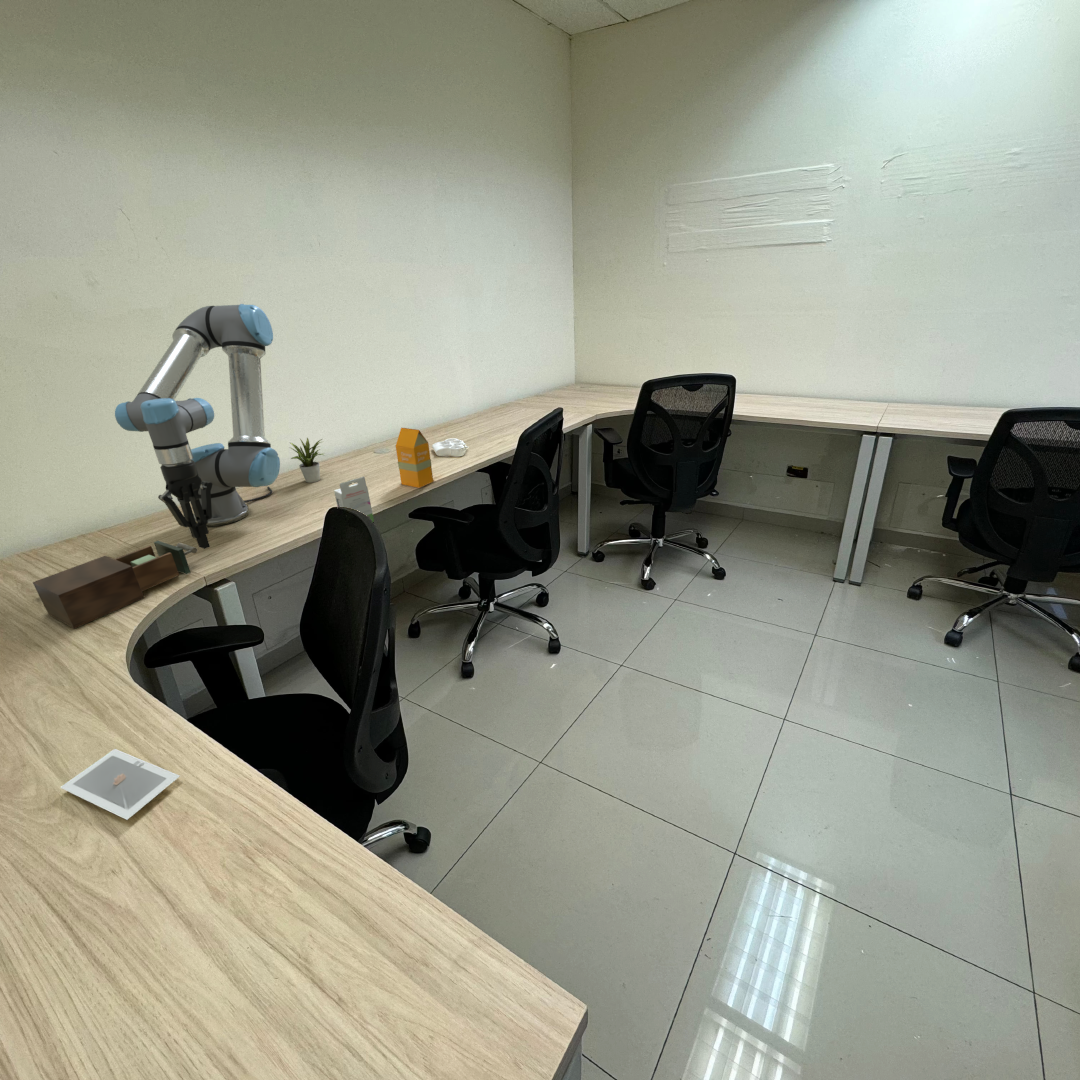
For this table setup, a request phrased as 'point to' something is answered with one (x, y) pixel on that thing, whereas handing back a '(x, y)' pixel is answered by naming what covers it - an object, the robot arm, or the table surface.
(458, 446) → the white flat lumpy piece
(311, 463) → the house plant
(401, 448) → the orange juice
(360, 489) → the ink box
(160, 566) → the drawer
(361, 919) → the table surface
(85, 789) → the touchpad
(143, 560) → the block
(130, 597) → the cabinet
